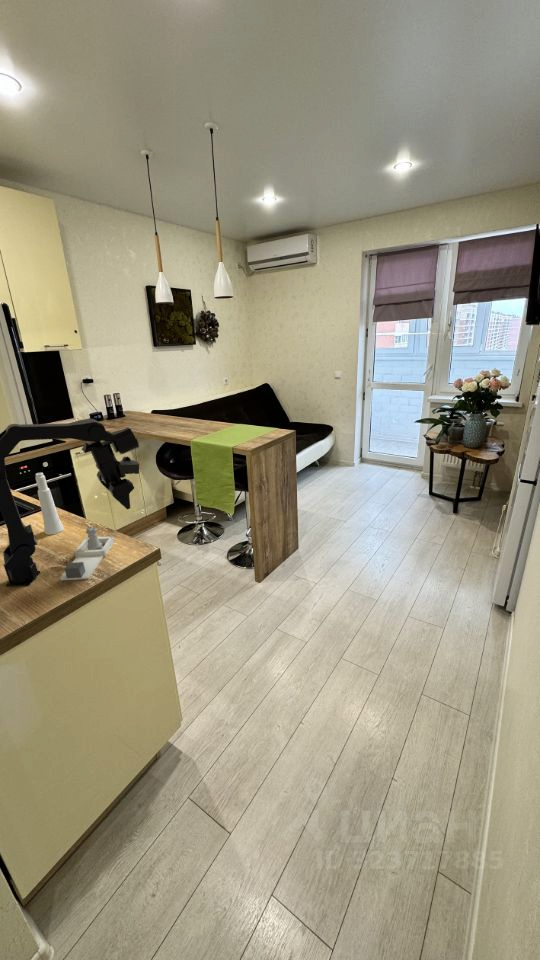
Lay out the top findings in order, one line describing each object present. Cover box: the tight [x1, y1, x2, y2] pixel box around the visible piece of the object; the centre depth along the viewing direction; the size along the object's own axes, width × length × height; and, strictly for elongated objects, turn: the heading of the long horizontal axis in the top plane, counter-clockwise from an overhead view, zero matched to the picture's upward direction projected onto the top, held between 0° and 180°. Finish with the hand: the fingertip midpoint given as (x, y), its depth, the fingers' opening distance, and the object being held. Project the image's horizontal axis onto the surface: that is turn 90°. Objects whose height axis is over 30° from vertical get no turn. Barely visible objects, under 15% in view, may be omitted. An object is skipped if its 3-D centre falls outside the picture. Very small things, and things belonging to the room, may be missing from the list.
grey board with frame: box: [59, 536, 115, 581], centre depth 116 cm, size 9×20×4 cm, turn 3°
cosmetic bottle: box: [35, 472, 65, 536], centre depth 131 cm, size 6×6×22 cm
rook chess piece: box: [85, 526, 104, 550], centre depth 121 cm, size 4×4×8 cm
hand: (124, 503), depth 119 cm, fingers open, 9 cm apart
